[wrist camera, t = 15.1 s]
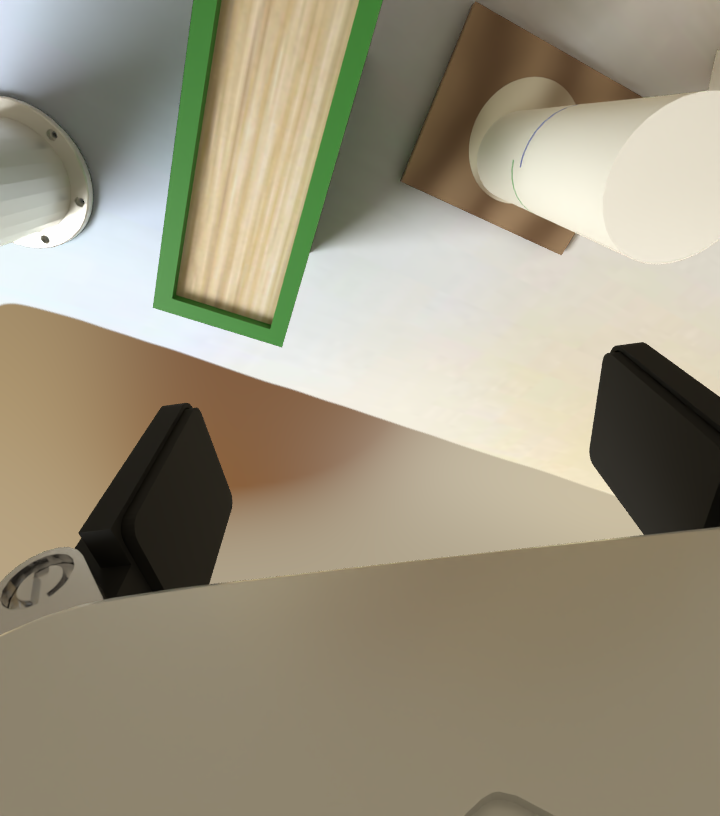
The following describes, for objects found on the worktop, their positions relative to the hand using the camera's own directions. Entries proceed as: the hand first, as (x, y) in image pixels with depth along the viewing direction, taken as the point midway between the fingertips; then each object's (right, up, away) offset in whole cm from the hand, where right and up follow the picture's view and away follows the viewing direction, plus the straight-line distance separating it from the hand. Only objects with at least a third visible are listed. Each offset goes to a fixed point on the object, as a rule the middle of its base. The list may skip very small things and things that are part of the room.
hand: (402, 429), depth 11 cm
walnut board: (+14, +25, +32) cm, 43 cm away
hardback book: (-7, +25, +32) cm, 41 cm away
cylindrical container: (+13, +24, +32) cm, 42 cm away
